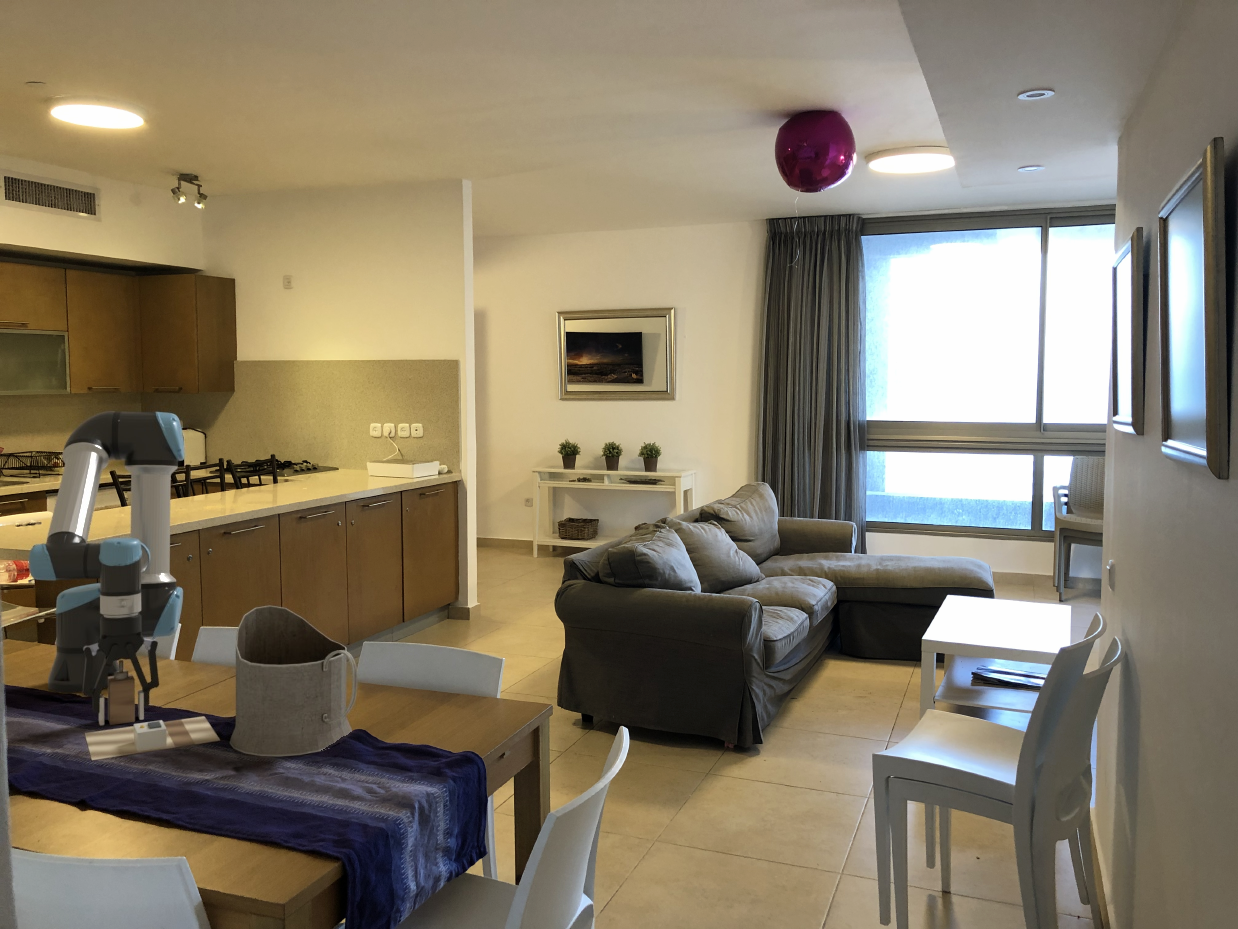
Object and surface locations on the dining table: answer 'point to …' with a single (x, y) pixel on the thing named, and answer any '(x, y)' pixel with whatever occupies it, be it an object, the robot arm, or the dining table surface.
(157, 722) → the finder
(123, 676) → the brown upright block
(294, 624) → the pitcher
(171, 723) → the subfloor panel
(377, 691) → the dining table surface
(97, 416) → the robot arm
